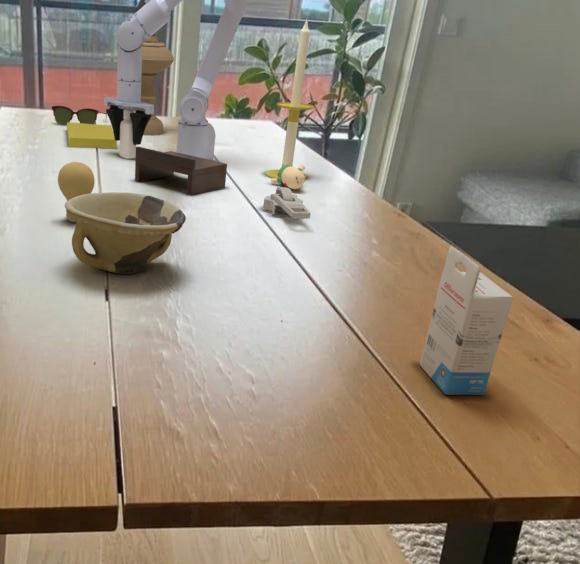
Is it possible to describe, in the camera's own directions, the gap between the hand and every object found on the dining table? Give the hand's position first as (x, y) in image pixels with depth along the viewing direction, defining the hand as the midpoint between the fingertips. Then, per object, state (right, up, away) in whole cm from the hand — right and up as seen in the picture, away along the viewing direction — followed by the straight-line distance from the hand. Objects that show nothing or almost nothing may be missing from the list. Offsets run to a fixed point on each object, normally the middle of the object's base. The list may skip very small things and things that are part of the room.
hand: (127, 142), depth 189 cm
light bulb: (-6, -36, -50) cm, 62 cm away
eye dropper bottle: (0, -3, +2) cm, 4 cm away
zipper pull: (+34, -32, -38) cm, 60 cm away
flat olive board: (-11, +9, +19) cm, 24 cm away
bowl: (+4, -51, -71) cm, 87 cm away
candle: (+38, -10, -5) cm, 40 cm away
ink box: (+44, -72, -98) cm, 129 cm away
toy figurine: (+37, -17, -15) cm, 44 cm away
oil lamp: (+3, +18, +35) cm, 40 cm away
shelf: (+13, -18, -20) cm, 30 cm away
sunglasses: (-17, +24, +41) cm, 50 cm away
